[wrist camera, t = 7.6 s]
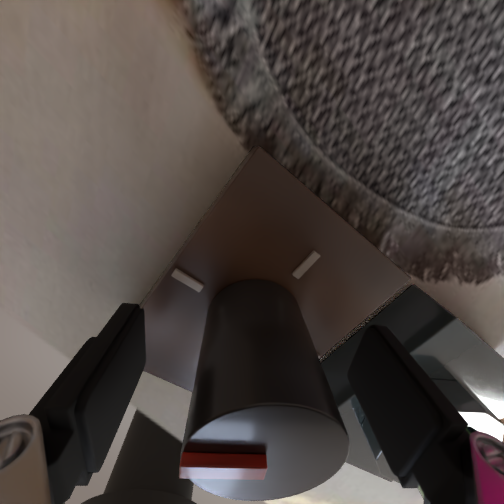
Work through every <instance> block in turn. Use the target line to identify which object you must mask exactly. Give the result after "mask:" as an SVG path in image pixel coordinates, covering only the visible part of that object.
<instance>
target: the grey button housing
mask: <svg viewBox="0 0 504 504" xmlns="http://www.w3.org/2000/svg"><path fill="white" fill-rule="evenodd" d="M371 325H383V326H387V327H388V328H389V329H390V330H391V332H392V333H393V334H394V335H395V336H396V338H397V339H398V340H399V341H400V342H401V344H402V345H403V346H404V347H405V348H406V350H407V351H408V352H409V353H410V354H411V356H412V357H413V358H414V359H415V360H416V362H417V363H418V364H419V365H420V366H421V368H422V369H423V370H424V371H425V372H426V374H427V375H428V376H429V377H430V378H431V380H432V381H433V382H434V383H435V384H436V386H437V387H438V388H439V389H440V390H441V391H442V393H443V394H444V395H445V396H446V397H447V399H448V400H449V401H450V402H451V403H452V405H453V406H454V407H455V408H456V409H457V411H458V412H459V413H460V414H461V415H462V417H463V418H464V419H465V420H466V421H467V423H468V424H469V425H468V427H467V428H468V429H469V430H470V431H471V432H474V431H481V432H485V433H488V434H490V435H492V436H494V437H496V438H498V439H499V440H501V441H502V442H503V432H504V424H503V423H502V422H501V420H500V419H501V418H503V417H504V358H503V357H502V356H501V355H499V354H498V353H497V352H496V351H495V350H494V349H493V348H491V347H490V346H489V345H488V344H487V343H486V342H485V341H483V340H482V339H481V338H480V337H479V336H478V335H476V334H475V333H474V332H473V331H472V330H471V329H470V328H468V327H467V326H466V325H465V324H464V323H463V322H462V321H460V320H459V319H458V318H457V317H456V316H454V315H453V314H452V313H451V312H449V311H448V310H447V309H445V308H444V307H443V306H442V305H440V304H439V303H438V302H436V301H435V300H434V299H432V298H431V297H430V296H429V295H427V294H426V293H425V292H423V291H422V290H421V289H420V288H418V287H417V286H416V285H412V286H411V287H410V288H408V289H407V290H406V291H405V292H404V293H403V294H401V295H400V296H399V297H398V298H397V299H395V300H394V301H393V302H392V303H391V304H390V305H388V306H387V307H386V308H385V309H384V310H383V311H381V312H380V313H379V314H378V315H377V316H376V317H374V318H373V319H372V320H371V321H370V322H369V323H367V324H366V325H365V326H364V327H363V328H362V329H360V330H359V331H358V332H357V333H356V334H355V335H353V336H352V337H351V338H350V339H349V340H347V341H346V342H345V343H344V344H343V345H342V346H340V347H339V348H338V349H337V350H336V351H335V352H333V353H332V354H331V355H330V356H329V357H328V358H326V359H325V360H324V361H323V362H322V363H321V365H322V368H323V370H324V373H325V376H326V378H327V381H328V383H329V386H330V389H331V391H332V394H333V397H334V399H335V402H336V404H337V407H338V410H339V412H340V415H341V417H342V420H343V423H344V425H345V428H346V430H347V433H348V436H349V441H350V449H349V454H348V457H347V459H346V461H345V462H346V463H349V464H351V465H353V466H356V467H358V468H360V469H362V470H365V471H367V472H369V473H372V474H374V475H376V476H379V477H381V478H383V479H385V480H388V481H390V482H392V481H393V480H394V481H396V482H398V483H400V481H399V479H398V477H397V476H395V475H394V474H393V473H392V471H391V469H390V467H389V465H388V463H387V461H386V459H385V457H384V455H383V452H382V450H381V448H380V446H379V444H378V442H377V440H376V438H375V436H374V433H373V431H372V429H371V427H370V425H369V423H368V421H367V419H366V417H365V414H364V412H363V410H362V408H361V406H360V404H359V402H358V400H357V398H356V395H355V393H354V391H353V389H352V387H351V385H350V383H349V381H348V377H347V372H348V369H349V367H350V365H351V362H352V360H353V358H354V355H355V353H356V351H357V348H358V346H359V344H360V341H361V339H362V337H363V334H364V332H365V330H366V329H367V328H369V326H371Z"/></svg>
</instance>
